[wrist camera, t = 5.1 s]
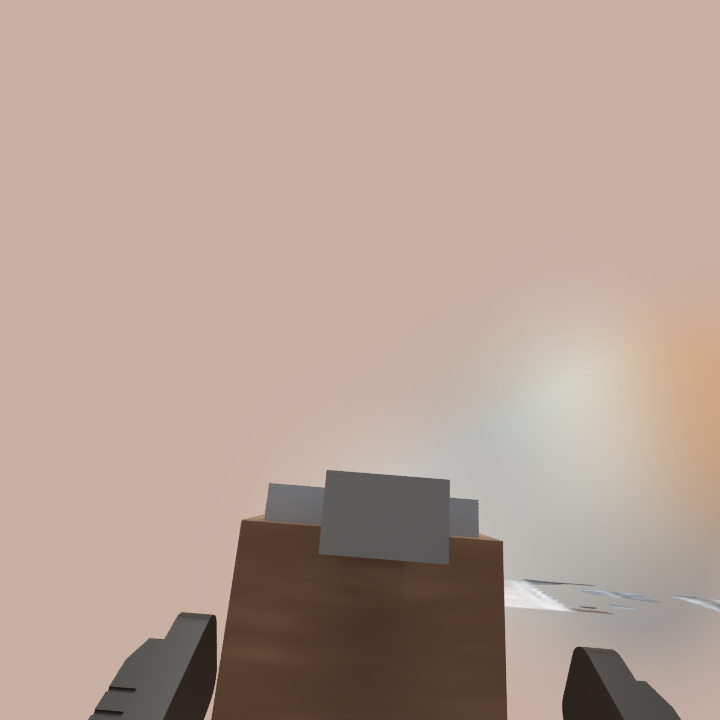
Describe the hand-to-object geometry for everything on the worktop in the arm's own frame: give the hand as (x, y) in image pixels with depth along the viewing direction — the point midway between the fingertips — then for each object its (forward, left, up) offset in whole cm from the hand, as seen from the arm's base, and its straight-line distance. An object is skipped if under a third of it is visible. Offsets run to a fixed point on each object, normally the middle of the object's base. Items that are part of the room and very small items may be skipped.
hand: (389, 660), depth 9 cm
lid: (-10, -10, +2) cm, 15 cm away
